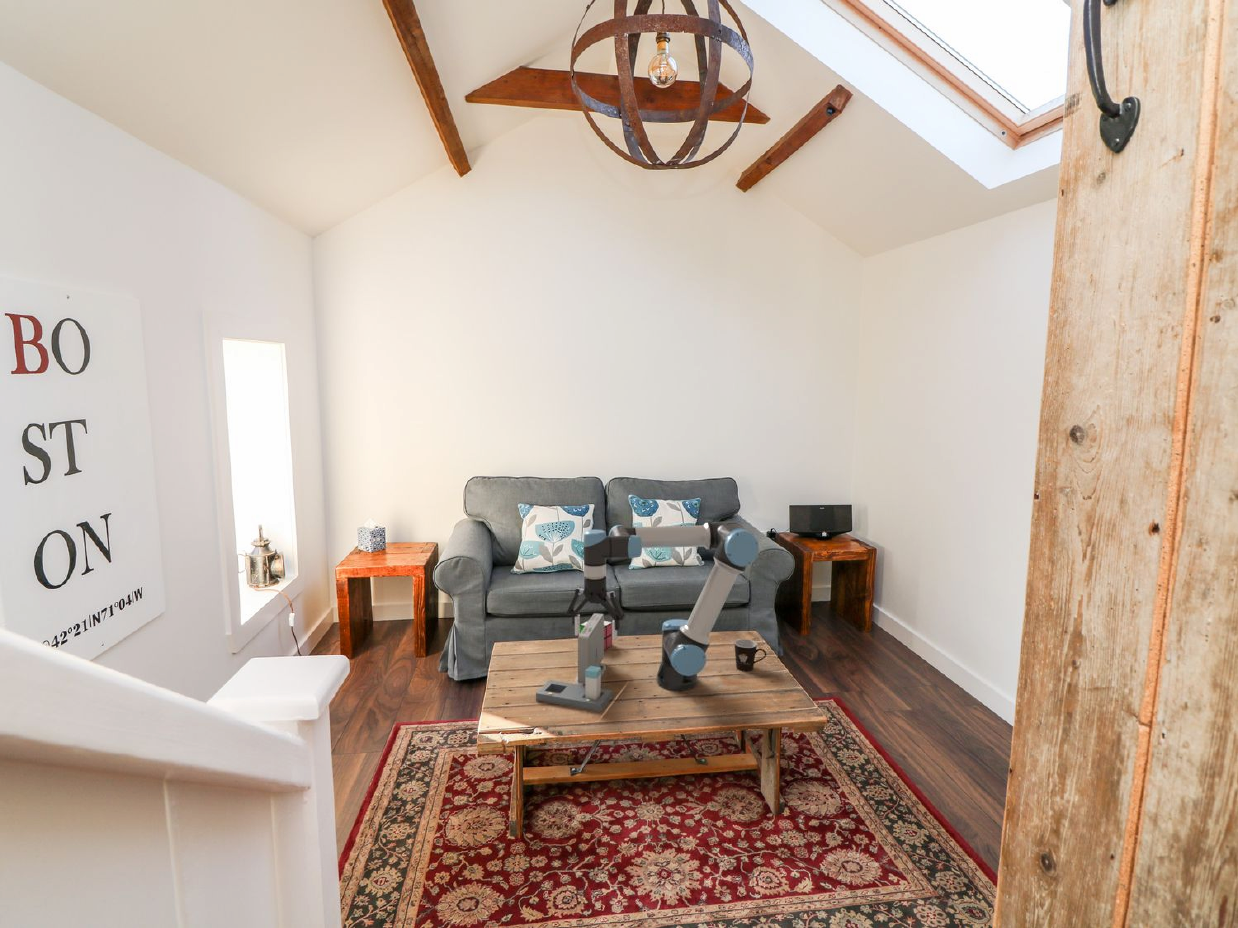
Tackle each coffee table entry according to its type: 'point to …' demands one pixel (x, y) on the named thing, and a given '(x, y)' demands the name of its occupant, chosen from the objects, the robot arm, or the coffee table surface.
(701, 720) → the coffee table surface
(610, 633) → the puzzle cube
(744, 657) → the coffee mug
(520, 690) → the coffee table surface
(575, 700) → the jack panel
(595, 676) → the plug
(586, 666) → the network device
